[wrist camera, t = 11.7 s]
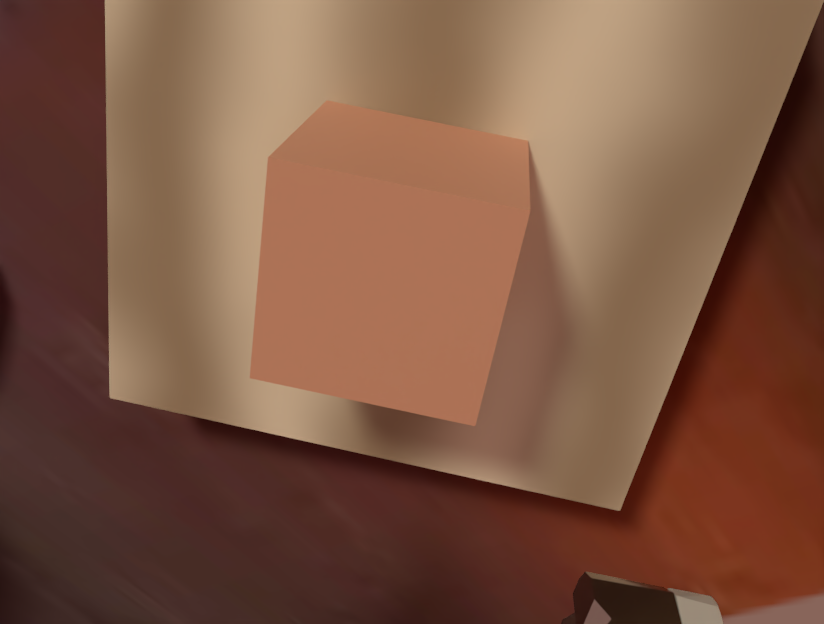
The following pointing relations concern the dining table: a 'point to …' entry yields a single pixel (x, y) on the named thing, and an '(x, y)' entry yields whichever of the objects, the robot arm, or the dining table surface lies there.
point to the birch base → (468, 108)
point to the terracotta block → (388, 259)
